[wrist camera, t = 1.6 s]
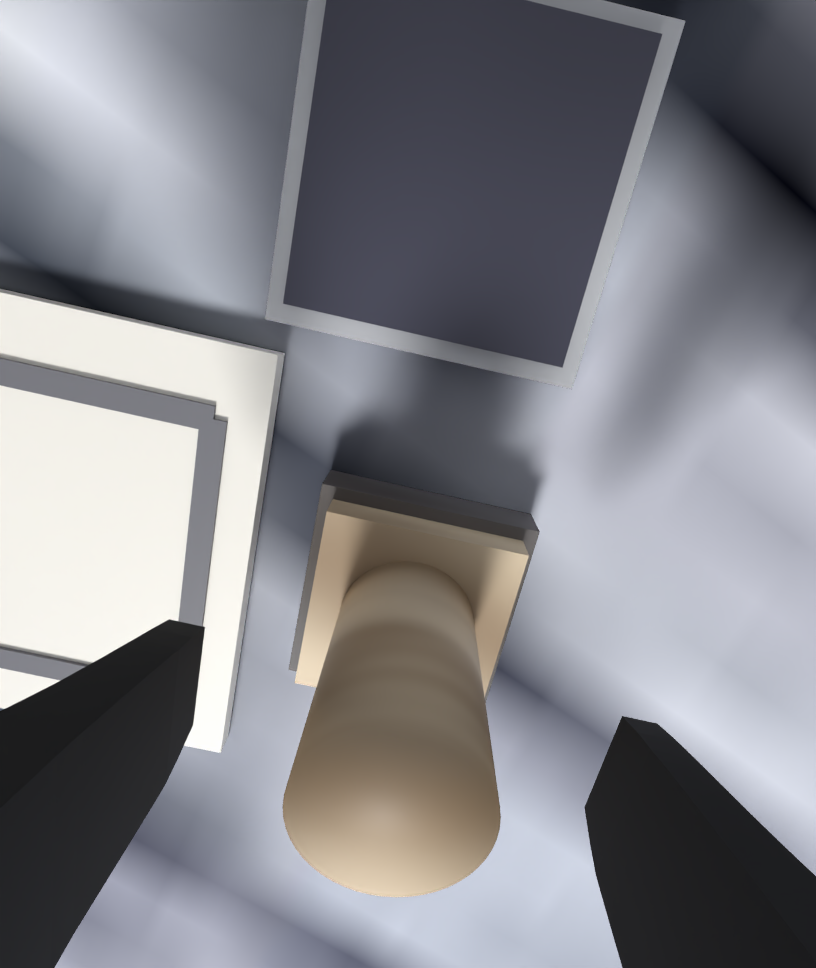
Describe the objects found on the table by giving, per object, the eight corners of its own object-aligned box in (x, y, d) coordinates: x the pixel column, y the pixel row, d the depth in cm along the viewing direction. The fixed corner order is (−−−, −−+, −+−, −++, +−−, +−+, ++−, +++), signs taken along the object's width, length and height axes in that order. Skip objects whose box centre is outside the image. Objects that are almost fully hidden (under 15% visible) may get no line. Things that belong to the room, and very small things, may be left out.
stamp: (479, 680, 15) (517, 973, 8) (299, 642, 15) (193, 909, 8) (530, 513, 14) (626, 708, 7) (331, 469, 13) (233, 624, 7)
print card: (228, 737, 16) (219, 755, 15) (-122, 664, 16) (-147, 680, 15) (284, 353, 13) (277, 355, 12) (-157, 252, 12) (-191, 249, 12)
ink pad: (562, 384, 13) (575, 391, 11) (275, 318, 12) (260, 319, 11) (665, 45, 11) (693, 12, 9) (326, -39, 10) (313, -84, 9)
